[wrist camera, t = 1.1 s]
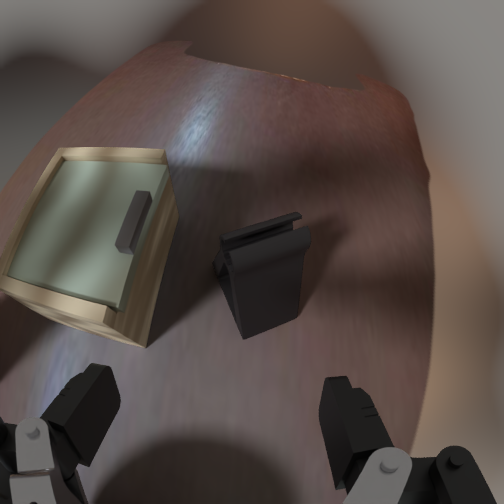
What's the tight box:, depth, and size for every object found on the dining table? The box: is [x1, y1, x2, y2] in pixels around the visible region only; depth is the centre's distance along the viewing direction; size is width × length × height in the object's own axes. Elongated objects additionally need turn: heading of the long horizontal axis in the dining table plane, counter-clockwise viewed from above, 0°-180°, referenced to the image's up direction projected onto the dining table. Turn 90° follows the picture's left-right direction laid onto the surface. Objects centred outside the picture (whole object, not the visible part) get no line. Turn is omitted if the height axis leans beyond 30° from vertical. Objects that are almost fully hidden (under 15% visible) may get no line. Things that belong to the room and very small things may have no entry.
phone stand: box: [212, 212, 311, 340], centre depth 25 cm, size 9×6×12 cm, turn 22°
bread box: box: [0, 147, 179, 348], centre depth 25 cm, size 14×16×12 cm
